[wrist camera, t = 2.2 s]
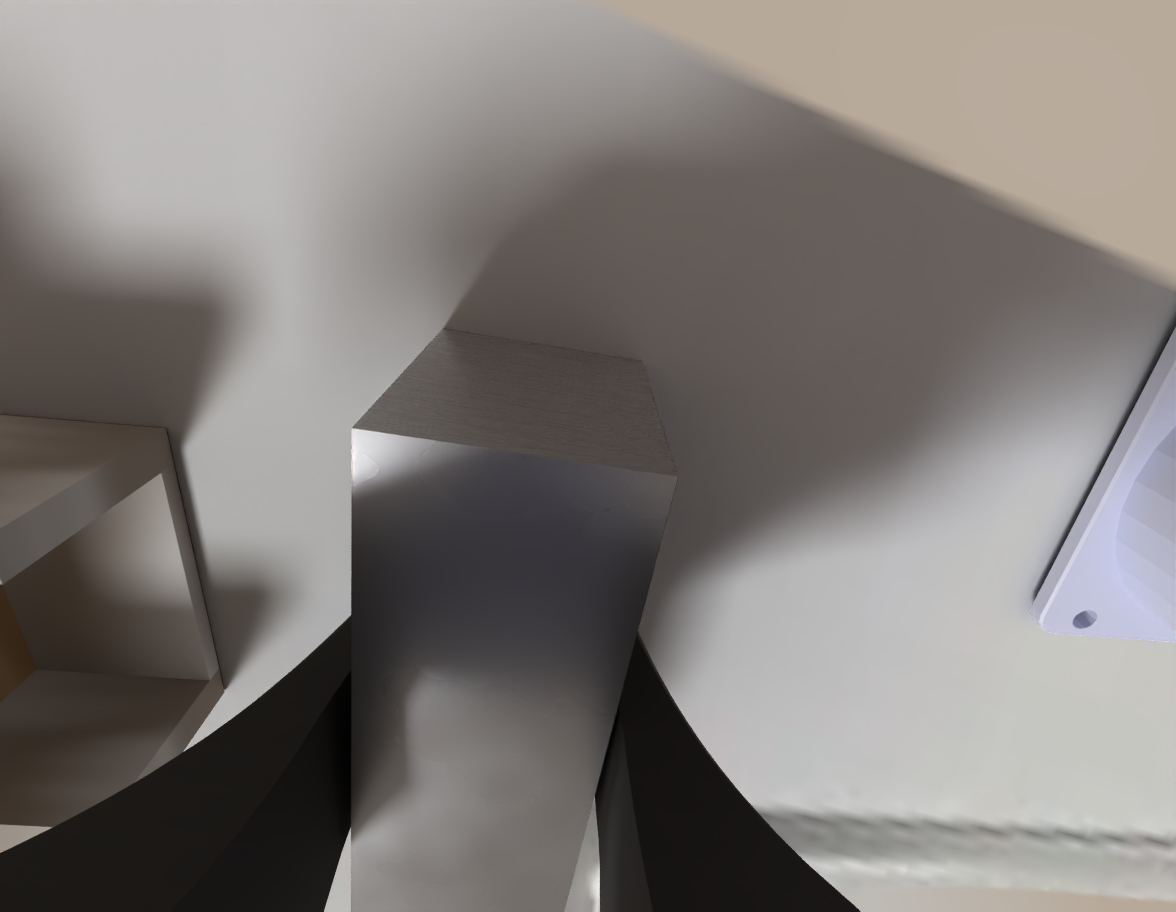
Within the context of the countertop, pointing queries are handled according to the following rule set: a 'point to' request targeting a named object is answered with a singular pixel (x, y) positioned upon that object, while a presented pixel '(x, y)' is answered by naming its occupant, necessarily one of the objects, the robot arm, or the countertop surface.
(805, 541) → the countertop surface
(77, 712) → the bracket
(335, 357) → the countertop surface
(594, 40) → the countertop surface
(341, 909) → the countertop surface
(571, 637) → the grey rectangular block
